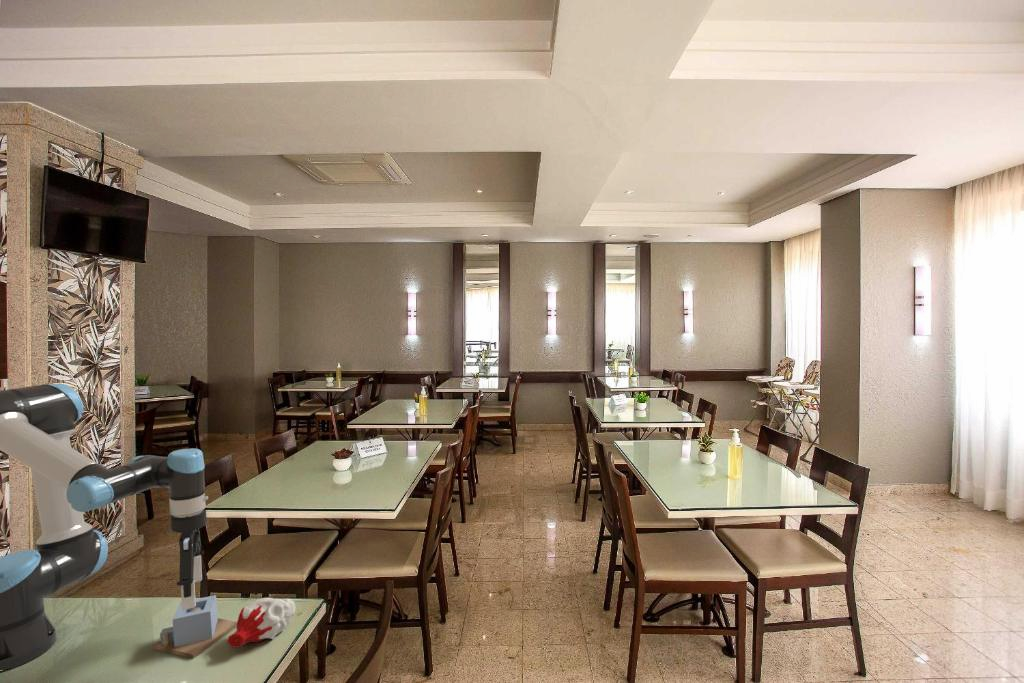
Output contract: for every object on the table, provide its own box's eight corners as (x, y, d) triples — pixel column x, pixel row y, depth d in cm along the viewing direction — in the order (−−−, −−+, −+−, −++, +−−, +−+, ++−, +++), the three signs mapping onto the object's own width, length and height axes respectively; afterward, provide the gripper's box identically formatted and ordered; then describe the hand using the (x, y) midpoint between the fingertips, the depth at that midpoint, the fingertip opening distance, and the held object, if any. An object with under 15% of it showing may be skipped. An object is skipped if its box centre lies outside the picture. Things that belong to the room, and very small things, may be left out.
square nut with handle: (217, 620, 134) (215, 595, 133) (212, 638, 126) (210, 611, 126) (166, 632, 129) (164, 605, 129) (157, 651, 122) (155, 623, 122)
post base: (153, 649, 124) (151, 621, 124) (200, 618, 137) (199, 593, 136) (193, 658, 120) (191, 630, 120) (238, 625, 133) (236, 600, 132)
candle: (300, 621, 133) (255, 666, 119) (266, 614, 137) (218, 656, 123) (295, 590, 131) (249, 632, 117) (261, 584, 135) (212, 623, 121)
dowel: (162, 646, 124) (161, 634, 124) (166, 643, 125) (166, 631, 125) (165, 647, 123) (164, 635, 123) (170, 644, 125) (169, 632, 124)
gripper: (200, 528, 117) (204, 616, 118) (210, 493, 140) (214, 568, 141) (161, 534, 114) (166, 625, 115) (178, 497, 136) (182, 574, 138)
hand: (192, 594), depth 128 cm, fingers open, 13 cm apart
